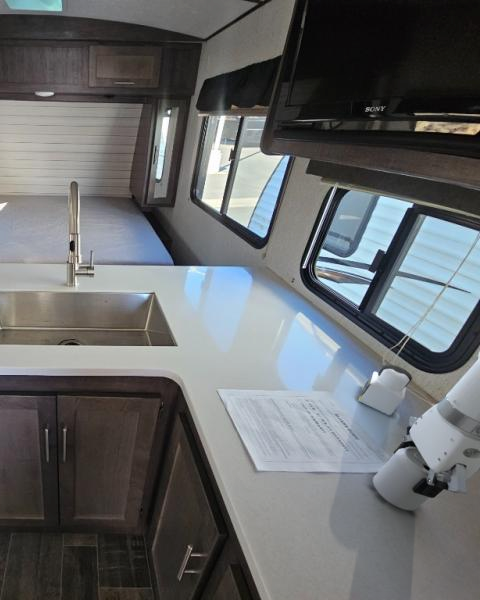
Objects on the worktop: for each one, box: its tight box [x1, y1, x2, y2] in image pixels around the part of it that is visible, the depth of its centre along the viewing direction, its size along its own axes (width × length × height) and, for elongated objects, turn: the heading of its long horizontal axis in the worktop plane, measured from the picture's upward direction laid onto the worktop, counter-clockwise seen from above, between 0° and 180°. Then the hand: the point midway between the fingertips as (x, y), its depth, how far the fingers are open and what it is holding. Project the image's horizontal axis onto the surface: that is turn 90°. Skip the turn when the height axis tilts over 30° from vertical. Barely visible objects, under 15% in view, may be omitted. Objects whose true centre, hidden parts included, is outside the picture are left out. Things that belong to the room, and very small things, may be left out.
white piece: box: [358, 364, 413, 416], centre depth 88 cm, size 7×7×12 cm
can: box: [372, 447, 444, 511], centre depth 65 cm, size 8×8×12 cm
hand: (412, 474), depth 65 cm, fingers closed on can, 7 cm apart
